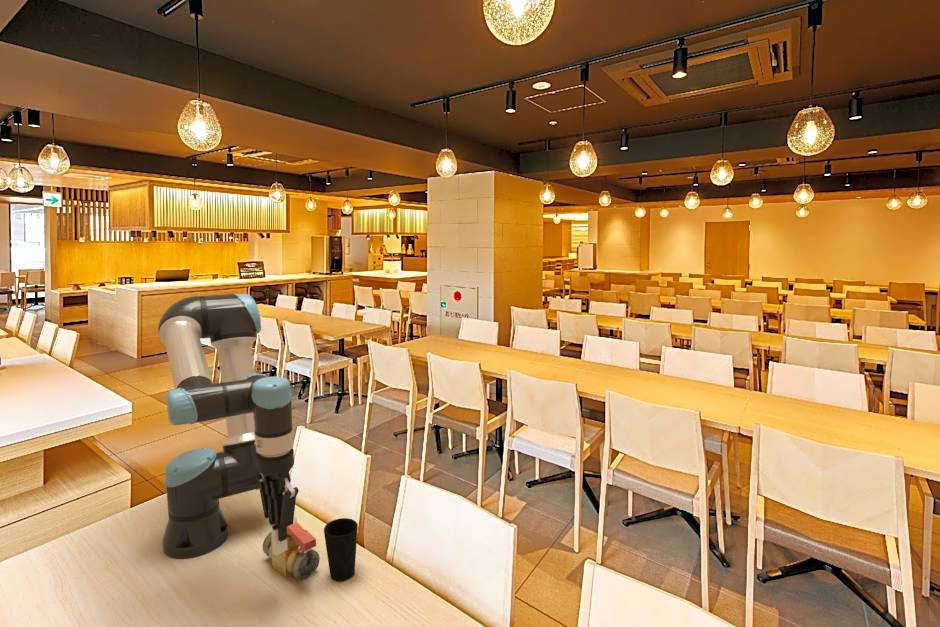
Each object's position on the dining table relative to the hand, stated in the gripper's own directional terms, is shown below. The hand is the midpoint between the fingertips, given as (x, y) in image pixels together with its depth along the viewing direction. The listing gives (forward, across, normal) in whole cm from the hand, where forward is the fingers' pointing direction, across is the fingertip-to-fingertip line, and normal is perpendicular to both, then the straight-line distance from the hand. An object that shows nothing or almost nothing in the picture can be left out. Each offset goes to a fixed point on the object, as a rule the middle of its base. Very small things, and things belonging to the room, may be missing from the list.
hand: (280, 551), depth 113 cm
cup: (+11, +5, +13) cm, 17 cm away
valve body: (+10, -7, +7) cm, 14 cm away
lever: (+1, -3, +6) cm, 7 cm away
